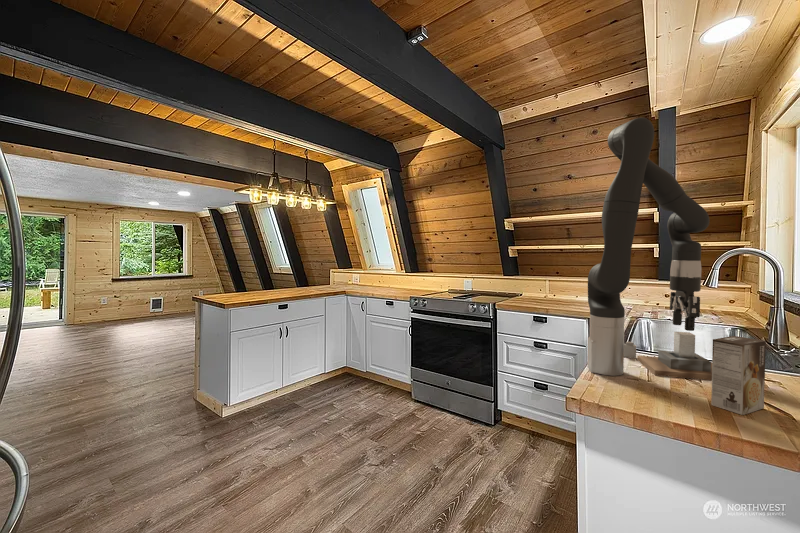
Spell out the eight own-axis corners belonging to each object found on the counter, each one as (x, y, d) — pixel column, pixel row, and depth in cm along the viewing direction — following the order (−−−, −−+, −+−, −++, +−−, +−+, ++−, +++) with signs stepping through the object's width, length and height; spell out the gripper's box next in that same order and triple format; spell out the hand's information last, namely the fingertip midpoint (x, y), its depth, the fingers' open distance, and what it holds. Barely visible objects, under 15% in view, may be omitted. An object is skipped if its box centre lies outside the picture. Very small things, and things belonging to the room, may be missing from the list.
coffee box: (731, 398, 91) (733, 335, 91) (764, 408, 86) (767, 340, 85) (709, 405, 88) (711, 338, 87) (743, 416, 82) (746, 344, 81)
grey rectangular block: (636, 357, 128) (636, 334, 127) (635, 358, 126) (636, 335, 126) (612, 354, 132) (613, 332, 131) (612, 355, 130) (612, 332, 130)
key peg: (678, 366, 112) (679, 334, 112) (673, 362, 116) (674, 331, 116) (694, 367, 111) (695, 335, 111) (688, 364, 115) (689, 332, 114)
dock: (654, 375, 109) (655, 360, 109) (637, 360, 124) (637, 346, 124) (737, 382, 103) (737, 366, 103) (708, 365, 118) (708, 351, 118)
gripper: (662, 273, 120) (659, 322, 121) (681, 276, 107) (678, 331, 108) (689, 274, 118) (686, 324, 119) (712, 277, 105) (709, 333, 105)
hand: (683, 327), depth 113 cm, fingers open, 8 cm apart
